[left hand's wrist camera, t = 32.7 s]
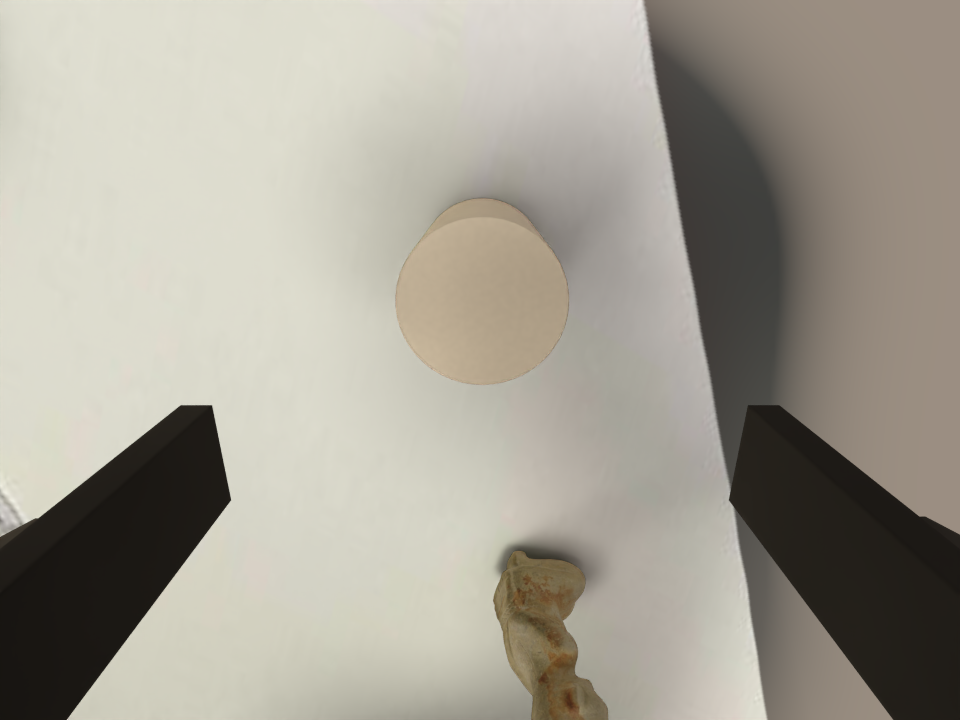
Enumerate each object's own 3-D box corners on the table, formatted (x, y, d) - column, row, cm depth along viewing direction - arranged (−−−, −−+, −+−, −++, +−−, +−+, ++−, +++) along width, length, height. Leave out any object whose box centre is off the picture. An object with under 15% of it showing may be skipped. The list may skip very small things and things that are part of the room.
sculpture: (561, 605, 45) (596, 804, 31) (485, 582, 44) (486, 776, 30) (590, 557, 43) (641, 746, 29) (511, 531, 42) (525, 714, 28)
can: (472, 342, 37) (468, 414, 26) (395, 251, 34) (359, 291, 24) (567, 272, 35) (602, 320, 25) (493, 170, 32) (498, 176, 22)
